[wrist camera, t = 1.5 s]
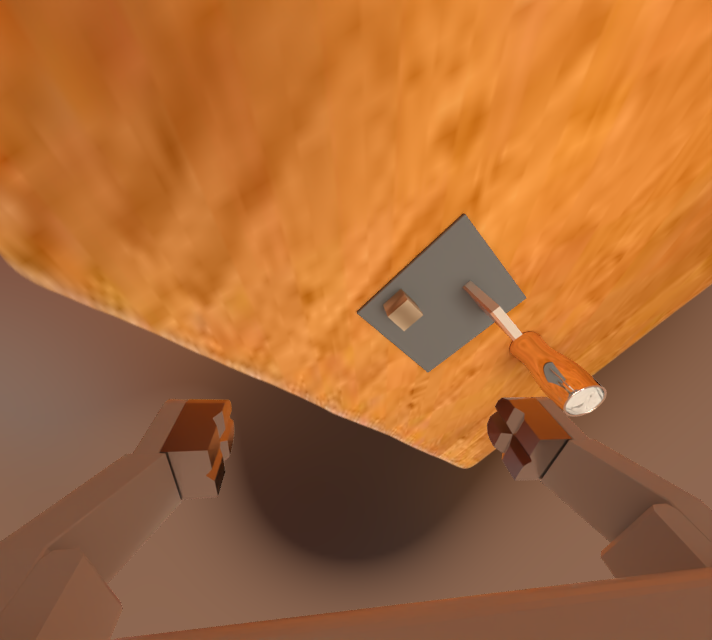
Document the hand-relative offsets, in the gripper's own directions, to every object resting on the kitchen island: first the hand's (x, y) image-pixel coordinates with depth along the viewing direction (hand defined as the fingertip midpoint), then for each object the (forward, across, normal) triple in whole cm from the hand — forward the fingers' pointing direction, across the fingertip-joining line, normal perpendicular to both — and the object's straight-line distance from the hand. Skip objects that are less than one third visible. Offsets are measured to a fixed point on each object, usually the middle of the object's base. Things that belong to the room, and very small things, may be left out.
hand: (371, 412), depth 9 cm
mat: (+36, -20, +14) cm, 44 cm away
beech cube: (+36, -12, +14) cm, 40 cm away
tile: (+36, -26, +12) cm, 45 cm away
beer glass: (+36, -40, +22) cm, 58 cm away
